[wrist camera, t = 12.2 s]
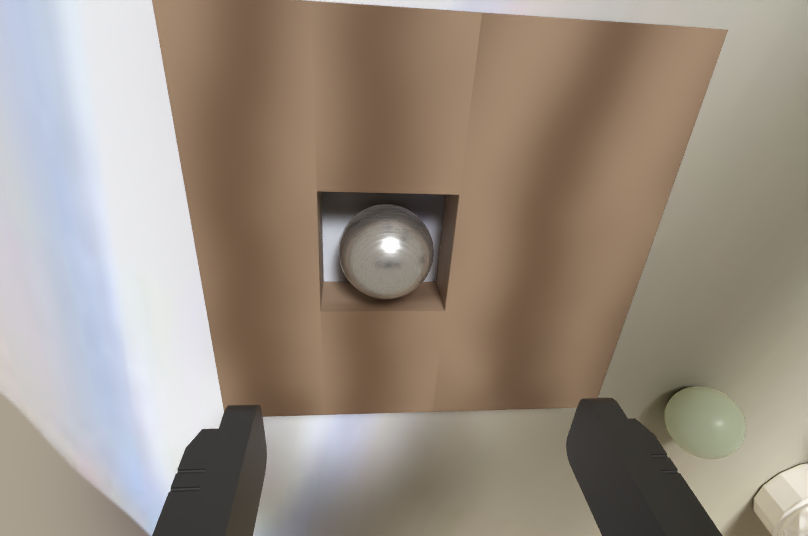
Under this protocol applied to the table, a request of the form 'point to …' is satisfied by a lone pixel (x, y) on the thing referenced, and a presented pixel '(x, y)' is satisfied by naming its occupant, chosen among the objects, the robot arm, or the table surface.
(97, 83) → the table surface
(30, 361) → the table surface
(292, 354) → the hole plate
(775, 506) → the white cup
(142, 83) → the table surface
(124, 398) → the table surface
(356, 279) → the steel ball
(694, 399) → the sage ball
